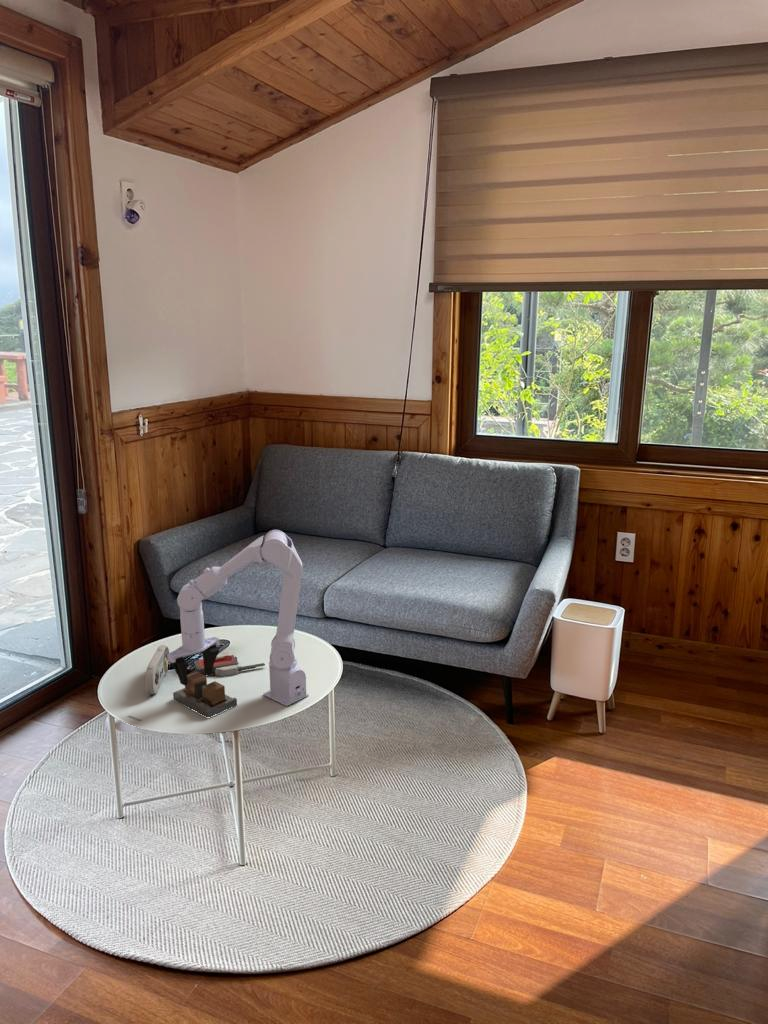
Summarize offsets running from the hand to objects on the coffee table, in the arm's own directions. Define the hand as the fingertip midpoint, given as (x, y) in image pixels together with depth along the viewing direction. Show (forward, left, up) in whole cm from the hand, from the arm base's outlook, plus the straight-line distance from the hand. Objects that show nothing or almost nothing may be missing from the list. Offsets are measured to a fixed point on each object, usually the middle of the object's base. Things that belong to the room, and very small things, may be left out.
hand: (196, 678), depth 201 cm
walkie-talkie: (+8, -16, -6) cm, 19 cm away
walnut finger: (0, 0, -5) cm, 5 cm away
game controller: (+16, +2, -6) cm, 17 cm away
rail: (-3, 0, -6) cm, 7 cm away
